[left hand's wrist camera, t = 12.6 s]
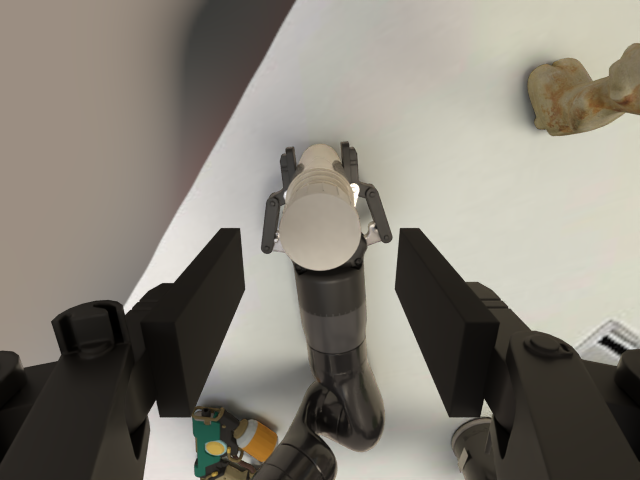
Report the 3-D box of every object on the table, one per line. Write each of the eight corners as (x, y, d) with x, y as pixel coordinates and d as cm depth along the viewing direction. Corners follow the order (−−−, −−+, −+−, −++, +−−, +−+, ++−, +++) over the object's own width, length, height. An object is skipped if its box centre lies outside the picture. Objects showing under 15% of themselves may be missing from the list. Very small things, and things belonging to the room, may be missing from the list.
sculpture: (572, 54, 36) (735, 16, 22) (575, 124, 38) (722, 131, 24) (516, 71, 37) (639, 45, 22) (521, 139, 39) (636, 154, 25)
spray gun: (260, 484, 59) (176, 457, 58) (294, 422, 53) (201, 390, 52) (254, 512, 56) (164, 483, 54) (290, 448, 49) (189, 414, 48)
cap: (344, 260, 20) (347, 279, 18) (275, 242, 20) (270, 259, 18) (366, 194, 19) (372, 205, 17) (293, 173, 19) (289, 182, 16)
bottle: (333, 188, 41) (350, 281, 18) (295, 177, 41) (265, 260, 18) (344, 150, 40) (378, 200, 17) (305, 138, 39) (286, 174, 16)
